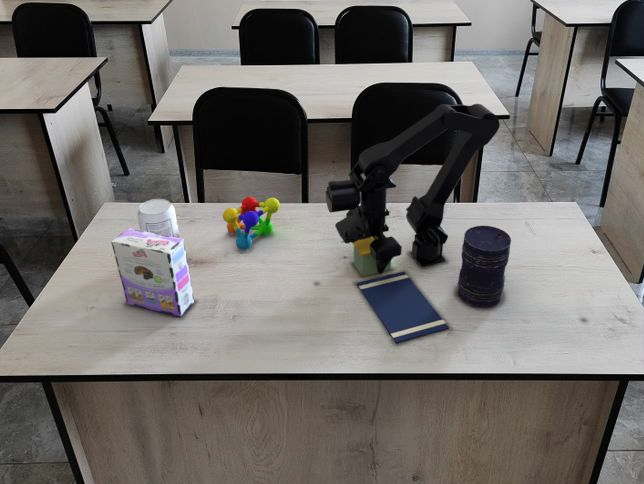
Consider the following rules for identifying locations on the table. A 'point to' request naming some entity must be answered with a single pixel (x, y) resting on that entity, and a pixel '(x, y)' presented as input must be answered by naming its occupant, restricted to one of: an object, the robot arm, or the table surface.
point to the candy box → (154, 271)
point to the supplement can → (158, 218)
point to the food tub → (365, 257)
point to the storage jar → (483, 266)
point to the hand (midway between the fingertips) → (372, 262)
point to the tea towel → (401, 307)
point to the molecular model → (250, 220)
